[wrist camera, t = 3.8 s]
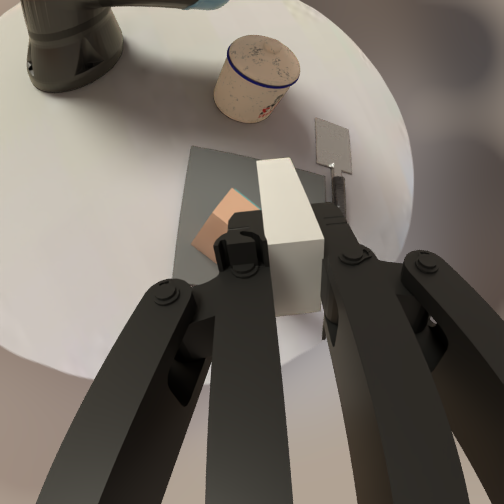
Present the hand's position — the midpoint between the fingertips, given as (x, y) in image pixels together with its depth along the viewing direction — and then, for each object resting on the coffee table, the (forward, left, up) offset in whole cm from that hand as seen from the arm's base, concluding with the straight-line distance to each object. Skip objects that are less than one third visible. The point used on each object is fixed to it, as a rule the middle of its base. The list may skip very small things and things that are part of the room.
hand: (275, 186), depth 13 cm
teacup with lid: (+3, +24, -20) cm, 31 cm away
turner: (+17, +14, -20) cm, 30 cm away
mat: (+6, +5, -20) cm, 21 cm away
